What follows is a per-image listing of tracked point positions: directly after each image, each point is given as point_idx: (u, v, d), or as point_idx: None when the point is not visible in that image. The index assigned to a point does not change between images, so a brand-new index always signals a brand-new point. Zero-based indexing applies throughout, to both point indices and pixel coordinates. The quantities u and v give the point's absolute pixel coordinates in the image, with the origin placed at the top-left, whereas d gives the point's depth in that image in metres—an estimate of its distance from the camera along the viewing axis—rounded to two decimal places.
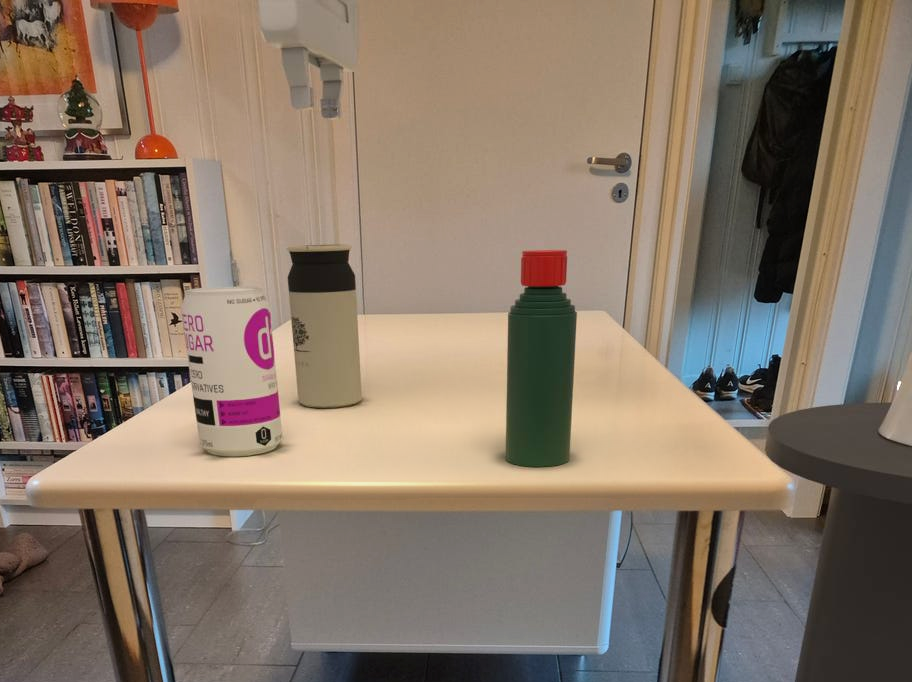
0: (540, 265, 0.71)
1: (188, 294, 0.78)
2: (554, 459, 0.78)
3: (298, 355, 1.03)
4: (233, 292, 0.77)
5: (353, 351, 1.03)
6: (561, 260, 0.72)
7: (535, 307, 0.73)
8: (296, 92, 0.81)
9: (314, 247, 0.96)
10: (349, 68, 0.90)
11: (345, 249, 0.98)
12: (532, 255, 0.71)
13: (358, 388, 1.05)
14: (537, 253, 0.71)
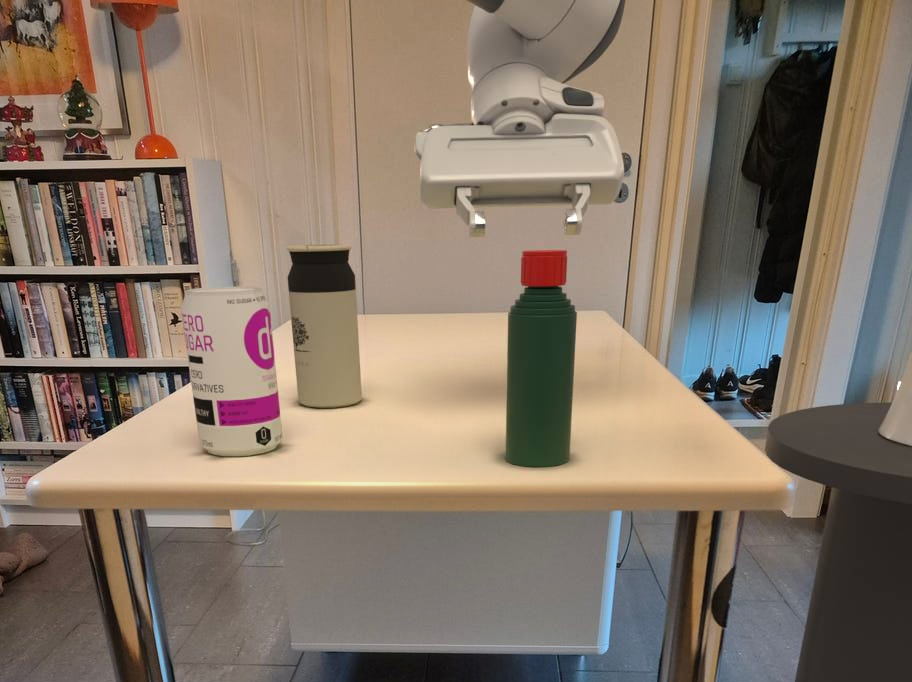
0: (540, 265, 0.71)
1: (188, 294, 0.78)
2: (554, 459, 0.78)
3: (298, 355, 1.03)
4: (233, 292, 0.77)
5: (353, 351, 1.03)
6: (561, 260, 0.72)
7: (535, 307, 0.73)
8: (469, 224, 0.84)
9: (314, 247, 0.96)
10: (596, 178, 0.83)
11: (345, 249, 0.98)
12: (532, 255, 0.71)
13: (358, 388, 1.05)
14: (537, 253, 0.71)
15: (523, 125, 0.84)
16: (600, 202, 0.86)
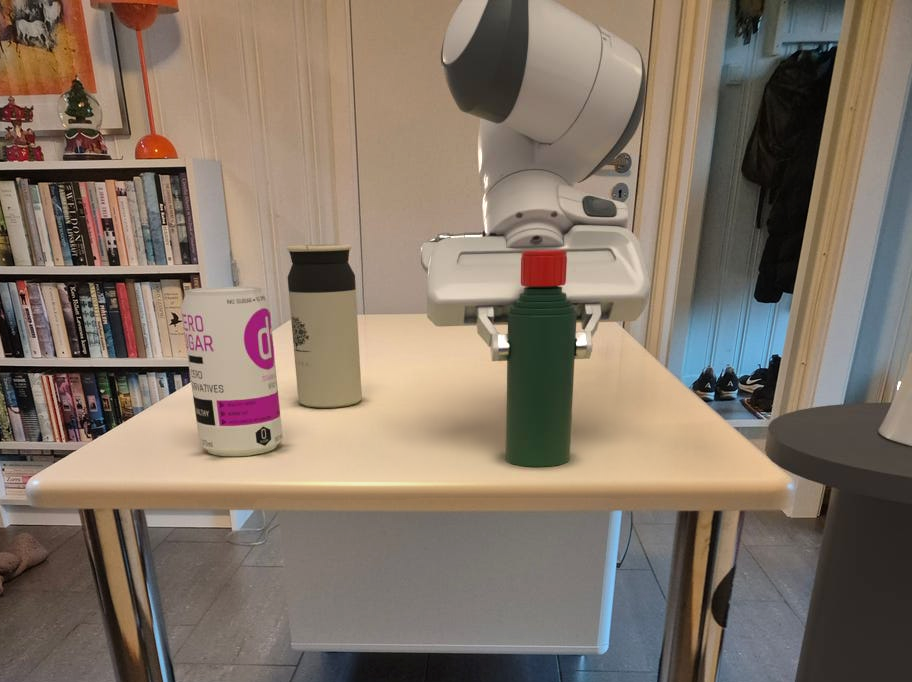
0: (540, 265, 0.71)
1: (188, 294, 0.78)
2: (554, 459, 0.78)
3: (298, 355, 1.03)
4: (233, 292, 0.77)
5: (353, 351, 1.03)
6: (561, 260, 0.72)
7: (535, 307, 0.72)
8: (491, 346, 0.76)
9: (314, 247, 0.96)
10: (620, 298, 0.76)
11: (345, 249, 0.98)
12: (532, 255, 0.71)
13: (358, 388, 1.05)
14: (537, 253, 0.71)
15: (539, 238, 0.77)
16: (623, 319, 0.79)
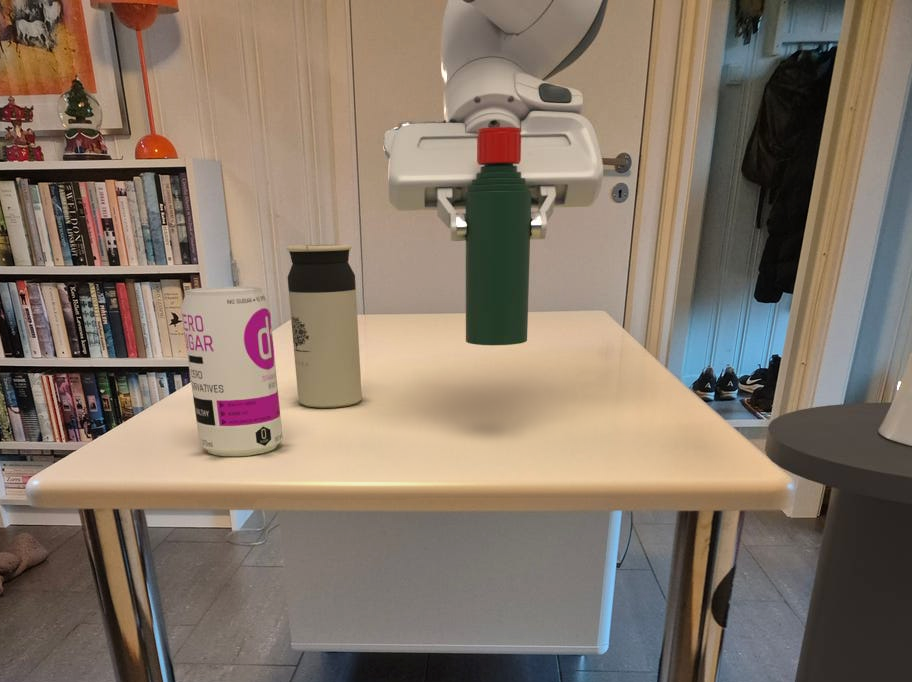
0: (494, 141, 0.74)
1: (188, 294, 0.78)
2: (511, 338, 0.81)
3: (298, 355, 1.03)
4: (233, 292, 0.77)
5: (353, 351, 1.03)
6: (515, 136, 0.75)
7: (490, 183, 0.75)
8: (450, 227, 0.79)
9: (314, 247, 0.96)
10: (574, 180, 0.79)
11: (345, 249, 0.98)
12: (487, 131, 0.74)
13: (358, 388, 1.05)
14: (491, 129, 0.74)
15: (497, 123, 0.80)
16: (578, 204, 0.82)
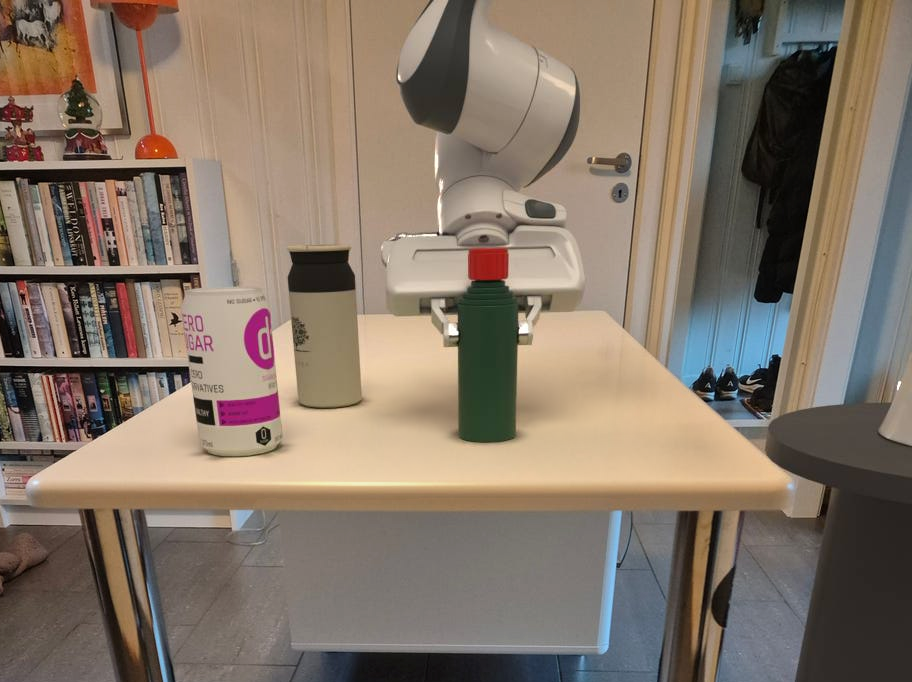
0: (484, 261, 0.80)
1: (188, 294, 0.78)
2: (501, 435, 0.87)
3: (298, 355, 1.03)
4: (233, 292, 0.77)
5: (353, 351, 1.03)
6: (502, 256, 0.81)
7: (480, 298, 0.82)
8: (443, 334, 0.85)
9: (314, 247, 0.96)
10: (558, 290, 0.85)
11: (345, 249, 0.98)
12: (476, 252, 0.80)
13: (358, 388, 1.05)
14: (481, 250, 0.80)
15: (486, 237, 0.86)
16: (563, 310, 0.88)
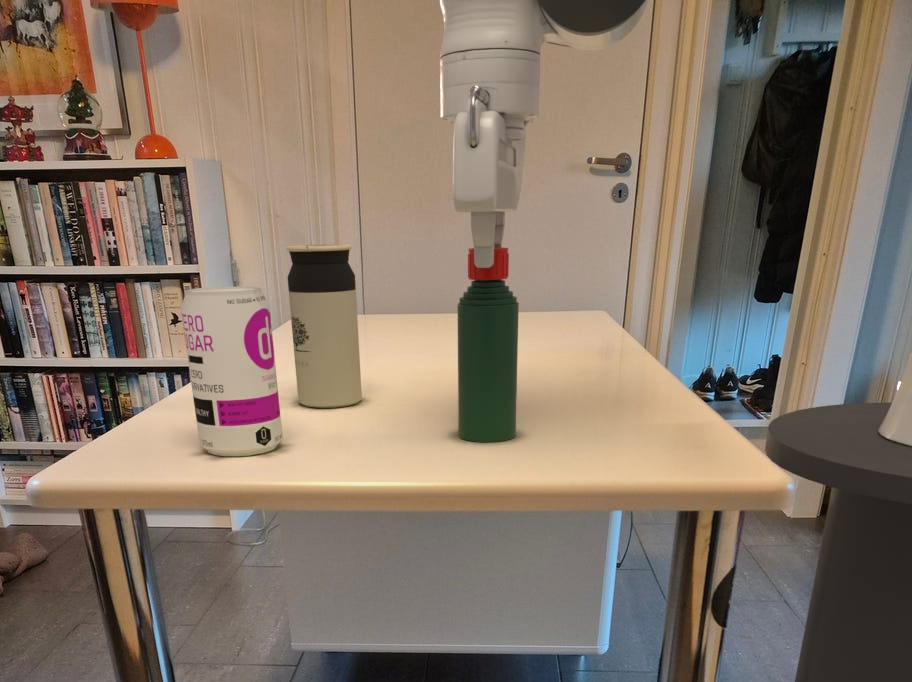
0: None
1: (188, 294, 0.78)
2: (501, 435, 0.87)
3: (298, 355, 1.03)
4: (233, 292, 0.77)
5: (353, 351, 1.03)
6: (502, 256, 0.81)
7: (480, 298, 0.81)
8: (480, 252, 0.79)
9: (314, 247, 0.96)
10: (513, 211, 0.86)
11: (345, 249, 0.98)
12: None
13: (358, 388, 1.05)
14: None
15: None
16: None
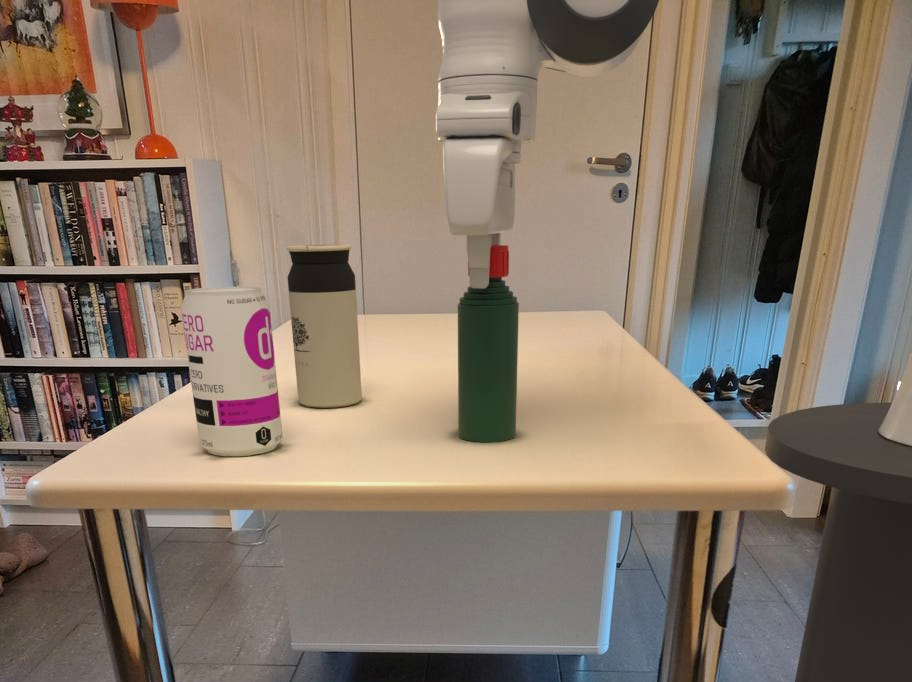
0: None
1: (188, 294, 0.78)
2: (501, 435, 0.87)
3: (298, 355, 1.03)
4: (233, 292, 0.77)
5: (353, 351, 1.03)
6: None
7: (480, 298, 0.82)
8: None
9: (314, 247, 0.96)
10: None
11: (345, 249, 0.98)
12: None
13: (358, 388, 1.05)
14: None
15: None
16: None
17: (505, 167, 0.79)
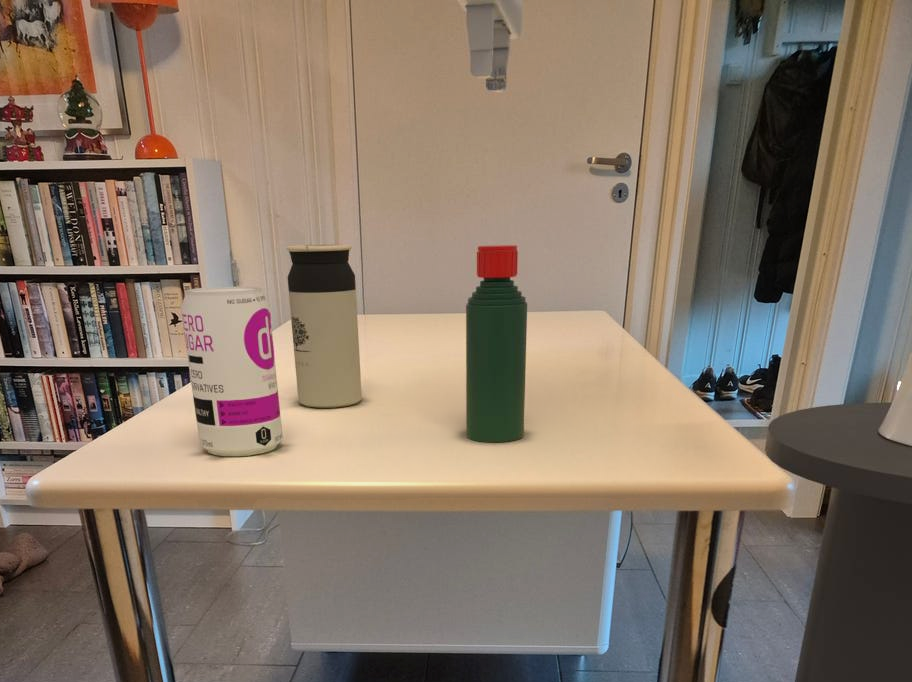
0: None
1: (188, 294, 0.78)
2: (509, 436, 0.87)
3: (298, 355, 1.03)
4: (233, 292, 0.77)
5: (353, 351, 1.03)
6: None
7: (489, 298, 0.81)
8: None
9: (314, 247, 0.96)
10: None
11: (345, 249, 0.98)
12: None
13: (358, 388, 1.05)
14: None
15: None
16: None
17: None
